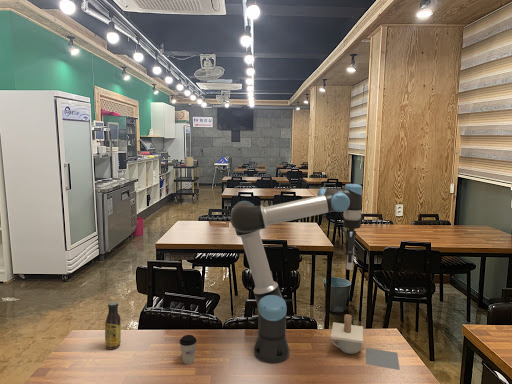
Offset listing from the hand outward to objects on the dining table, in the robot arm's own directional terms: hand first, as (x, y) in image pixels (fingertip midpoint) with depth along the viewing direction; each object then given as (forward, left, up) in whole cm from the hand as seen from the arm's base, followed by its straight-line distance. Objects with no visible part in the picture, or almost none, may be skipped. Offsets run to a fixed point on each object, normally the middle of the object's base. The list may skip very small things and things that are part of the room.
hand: (350, 264), depth 167 cm
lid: (0, -12, -27) cm, 29 cm away
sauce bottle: (-97, -40, -35) cm, 110 cm away
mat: (+15, -14, -35) cm, 40 cm away
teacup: (0, -12, -35) cm, 37 cm away
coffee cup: (-61, -40, -35) cm, 81 cm away
